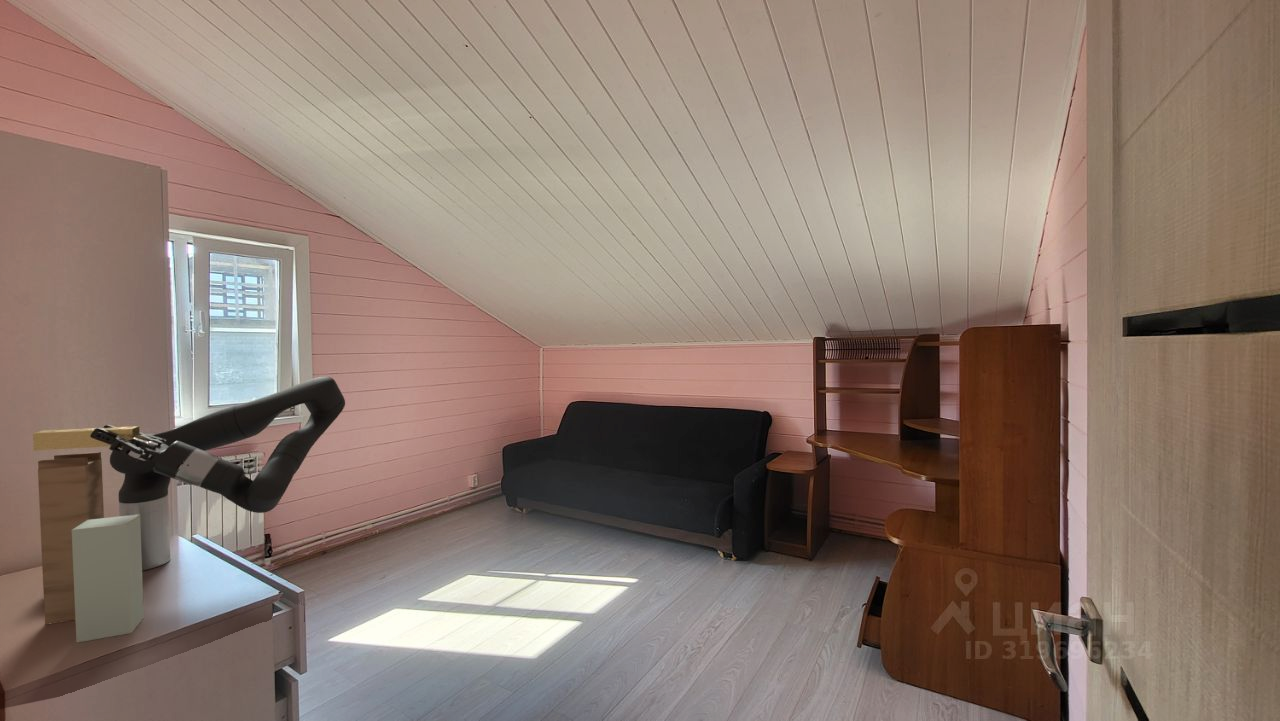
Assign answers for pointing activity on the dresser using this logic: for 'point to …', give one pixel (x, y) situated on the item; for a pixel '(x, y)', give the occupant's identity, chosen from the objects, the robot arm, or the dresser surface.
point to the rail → (77, 438)
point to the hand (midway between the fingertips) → (98, 430)
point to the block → (107, 577)
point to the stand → (65, 523)
